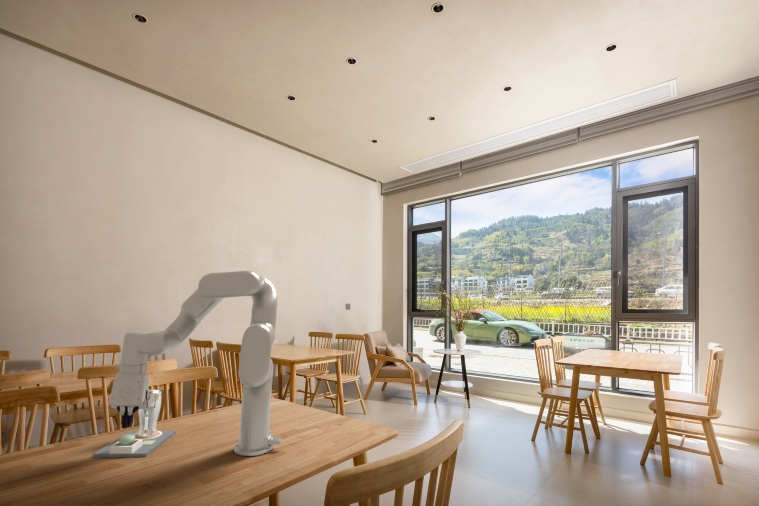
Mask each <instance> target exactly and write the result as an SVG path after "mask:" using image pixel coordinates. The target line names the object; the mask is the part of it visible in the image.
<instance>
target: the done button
mask: <svg viewBox="0 0 759 506" xmlns="http://www.w3.org/2000/svg"><path fill="white" fill-rule="evenodd" d="M118 438H119V445H122V446H124V445H130V444H133V443H134V442H135V435H134V434H128V435H125V434H123V435H120V436H119V437H118Z"/></svg>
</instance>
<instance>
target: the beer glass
mask: <svg viewBox="0 0 759 506" xmlns="http://www.w3.org/2000/svg"><path fill="white" fill-rule="evenodd" d="M146 403H147V407H146V408H144V409H139V410H138V417H139V428H138V430H137V431H138V435H137V436H138V437H140V438H147V437H152V436H155V435H156V434H157V431H158V429H157V426H158V425H157V422H158V420H159V419H158V418H159V415H160V411H161V408H162V390H160V389H149V394H148V400H147V402H146Z"/></svg>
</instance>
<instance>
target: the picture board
mask: <svg viewBox="0 0 759 506" xmlns="http://www.w3.org/2000/svg"><path fill="white" fill-rule="evenodd" d="M138 431H139V430H130V431H128V432H126V433H125V434H124V435H128V434H134V435H135V442H134V443H133V444H130V445H124V446H122V445H119V437H118V438H117V439H115V440H114V441H112V442H110V443H109V444H107V445H105V446H103V447H102V448H100V449H99V450H97V451H95V452H94V453H93V454H92V458H140V457H141V458H146V457H148V456H149V455H150V454H152V452H154V451H155V450H156V449H158V448H159V447H160V446H162V445H163V444H164V443H166V442H167V441H168V440H170V438H172V437H174V435H176V433H177V430H173V429H172V430H157V434H156V435H155V436H152V437H147V438H140V437H138V436H137V435H138Z"/></svg>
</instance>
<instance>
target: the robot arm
mask: <svg viewBox="0 0 759 506" xmlns="http://www.w3.org/2000/svg"><path fill="white" fill-rule="evenodd" d="M236 297H251V298H252V308H251V316H250V324H249V326H248V327H247V328H246V329H245V331H244V333H243V334H242V335H243V336H242V339H241V345H240V354H239V361H238V362H239V365H238V377H239V380H240V382H241V383H242V385H243V386H242V395H241V407H240V409H241V410H240V422H239V423H240V425H239V441H238V443H236V444H235V445H234V446H233V452H234V453H235V454H236V455H239V456H243V457H253V456H254V457H255V456H261V455H264V453H265V454H266V453H269V452H271V451H270V450H273V448H274V445H277V446H279V445H282V441H283V440H282V438H280V436H273V435H272V432H271V431H270V419H271V416H270V415H271V402H272V390H273V389H272V388H273V387H272V386H273V378H274V362H273V359H272V358H271V356H272V355H271V353H272V346H273V344H274V342H275V340H276V325H277V314H278V313H277V309H278V294H277V290H276V288H275V286H274V284H273V283H272V282H271V280H269V279H268V278H267V277H265V276H263V275H262V274H260V273H258V272H255V271H252V270H239V271H238V270H236V271H226V272H225V271H224V272H209V273H207V274H204V275H203V276H202V277H201V278H200V280H199V281H198V286H197V289H196V290H195V291H194V292H193V293H191V295H190V296H188V298H186V299H185V301H183V302H182V304H181V307H180V312H179V315H178V316H177V317H176V318H175V320H173V322H172V323H171V324H170V325H168V326H167V327H166V329H164V330H161V331H155V332H148V331H146V330H145V331H144V330H130V331H127V332H126V333H125V334H124V336H123V340H122V341H123V343H122V350H121V351H122V352H121V358H120V364H117V365H116V367H115V369H116V370H119V371H118V373H115V378H114V380H113V383H112V387H111V392H110V396H109V404H110V408H112V409H115V410H118V412H119V414H120V416H121V418H120V419H121V421H120V425H121V427H120V428H121V429H124V428H125V429H128V428H130V427H131V426H132V425H133V423H134V418H135V413H136V412H137V411H139V409H144V408H146V407H147V403H146V402H147V400H148V394H149V390H150V389H149V388H150V380H149V372H147V367H148V358H149V355H150V356H161V355H163V354H166V353H169V352H172V351H174V350H175V349H177V348H178V347H179V346H180V345H181V344H182V343H183V342H184V341H185V340H186V339H188V337H189V336H190V335H191V334H192V333H193V332H194V331H195V329H196V328H197V327H198V326H199V325H200V324H201V322H202V321H203V320H204V319H205V317H207V316H208V315H209V314H210V312H211V311H212V310H214V309H215V308H216V307H217V306H218V304H220V303H221V302H222V300H223V299H224V298H236Z"/></svg>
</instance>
